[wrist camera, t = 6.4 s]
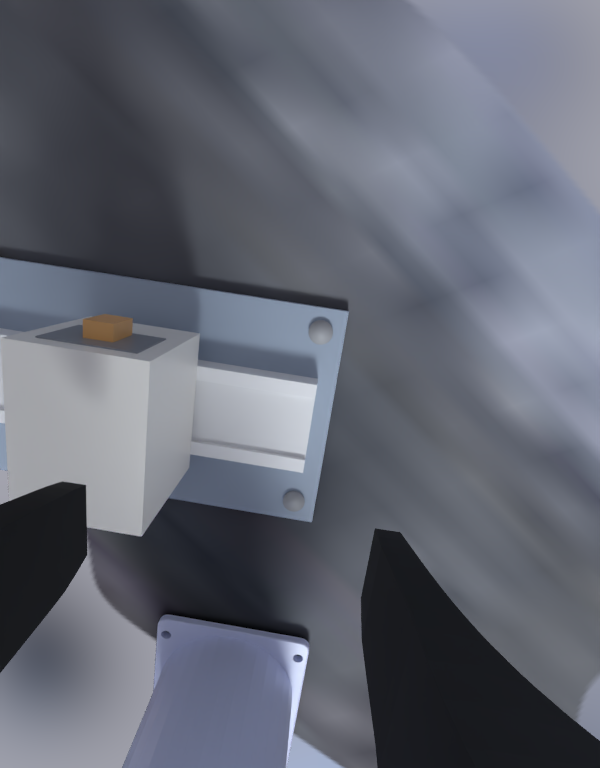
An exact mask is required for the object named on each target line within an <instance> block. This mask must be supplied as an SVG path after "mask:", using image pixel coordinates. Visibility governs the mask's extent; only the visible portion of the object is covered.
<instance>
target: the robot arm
mask: <svg viewBox="0 0 600 768" xmlns="http://www.w3.org/2000/svg"><path fill="white" fill-rule="evenodd" d="M86 556H87V515H86V485H83V484H76V483H70V482H63V481H62V482H59V483H55V484H52V485H49V486H46V487H44V488H41V489H38V490H36V491H33V492H31V493H28V494H26V495H23V496H21V497H18V498H16V499H13V500H11V501H8V502H6V503H4V504H1V505H0V672H1V671H2V670H3V669H4V667H5V666H6V665H7V664H8V662H9V661H10V660H11V659H12V658H13V656H14V655H15V654H16V652H17V651H18V650H19V649H20V648H21V646H22V645H23V644H24V643H25V641H26V640H27V639H28V638H29V636H30V635H31V634H32V633H33V631H34V630H35V629H36V628H37V626H38V625H39V624H40V623H41V621H42V620H43V619H44V618H45V616H46V615H47V614H48V612H49V611H50V610H51V609H52V607H53V606H54V605H55V604H56V602H57V601H58V600H59V598H60V597H61V596H62V594H63V593H64V592H65V590H66V589H67V587H68V586H69V584H70V582H71V581H72V579H73V578H74V576H75V575H76V573H77V571H78V569H79V568H80V566H81V564H82V563H83V561H84V559H85V558H86ZM361 624H362V645H363V653H364V661H365V669H366V676H367V684H368V692H369V699H370V707H371V714H372V722H373V729H374V737H375V744H376V754H377V765H378V768H600V741H599V740H598V739H596V738H595V737H594V736H593V735H591V734H590V733H589V732H587V731H586V730H585V729H584V728H583V727H581V726H580V725H579V724H578V723H577V722H575V721H574V720H573V719H572V718H570V717H569V716H568V715H567V714H566V713H564V712H563V711H562V710H561V709H560V708H559V707H557V706H556V705H555V704H554V703H553V702H552V701H551V700H549V699H548V698H547V697H546V696H545V695H544V694H542V693H541V692H540V691H539V690H538V689H537V688H535V687H534V686H533V685H532V684H531V683H530V682H529V681H528V680H527V679H526V678H525V677H523V676H522V675H521V674H520V673H519V672H518V671H517V670H516V669H515V668H514V667H513V666H512V665H511V664H510V663H509V662H508V661H507V660H506V659H505V658H504V657H503V656H502V655H501V654H500V653H499V652H498V651H497V650H496V649H495V648H494V647H493V646H492V645H491V644H490V643H489V642H488V641H487V640H486V639H485V638H484V637H483V636H482V635H481V634H480V633H479V632H478V631H477V629H476V628H475V627H474V626H473V625H472V624H471V623H470V622H469V620H468V619H467V618H466V617H465V616H464V615H463V614H462V612H461V611H460V610H459V609H458V608H457V607H456V605H455V604H454V603H453V602H452V601H451V599H450V598H449V597H448V596H447V595H446V593H445V592H444V591H443V590H442V588H441V587H440V586H439V584H438V583H437V582H436V581H435V579H434V578H433V577H432V575H431V574H430V573H429V571H428V570H427V569H426V567H425V566H424V565H423V563H422V562H421V560H420V559H419V558H418V556H417V555H416V554H415V552H414V551H413V549H412V548H411V547H410V545H409V544H408V542H407V541H406V540H405V538H404V537H403V536H402V534H401V533H400V532H394V531H387V530H381V529H375V531H374V536H373V541H372V546H371V551H370V556H369V561H368V566H367V571H366V576H365V581H364V586H363V591H362V596H361ZM166 631H168V632H169V633H168V632H166ZM308 654H309V643H308V641H307V640H305V639H303V638H299V637H294V636H288V635H282V634H277V633H271V632H266V631H260V630H254V629H249V628H243V627H237V626H232V625H226V624H220V623H215V622H209V621H203V620H198V619H192V618H186V617H181V616H175V615H163V616H162V617H161V618H160V620H159V622H158V627H157V643H156V658H155V674H154V690H153V694H152V696H151V699H150V701H149V704H148V706H147V709H146V711H145V714H144V716H143V718H142V721H141V723H140V725H139V728H138V730H137V733H136V735H135V737H134V740H133V742H132V745H131V747H130V750H129V752H128V754H127V757H126V759H125V762H124V764H123V766H122V768H287V764H288V758H289V753H290V748H291V743H292V737H293V732H294V727H295V722H296V717H297V711H298V706H299V701H300V696H301V691H302V685H303V680H304V675H305V670H306V665H307V659H308ZM297 655H301V656H297Z"/></svg>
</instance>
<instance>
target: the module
mask: <svg viewBox="0 0 600 768" xmlns="http://www.w3.org/2000/svg"><path fill="white" fill-rule="evenodd" d="M199 339H200V333H194V332H188V331H181V330H175V329H169V328H162V327H156V326H150V325H143V324H137V323H133V318H128V317H122V316H116V315H109V314H102V315H98V316H94V317H92V316H90V317H85V318H81V319H77V320H73V321H69V322H64V323H60V324H56V325H52V326H48V327H44V328H39V329H35V330H31V331H27V332H23V333H19V334H14V335H10V336H6V337H2V338H1V353H2V373H3V393H4V412H5V432H6V452H7V471H8V490H9V501H11V500H13V499H16V498H18V497H21V496H23V495H26V494H28V493H31V492H33V491H36V490H38V489H41V488H44V487H46V486H49V485H52V484H55V483H59V482H62V481H63V482H70V483H76V484H83V485H86V515H87V527H88V528H94V529H100V530H106V531H111V532H117V533H123V534H129V535H135V536H141V537H142V535H143V534H144V532H145V531H146V530H147V528H148V527H149V525H150V524H151V522H152V521H153V519H154V518H155V516H156V515H157V514H158V512H159V511H160V509H161V508H162V506H163V505H164V503H165V502H166V500H167V499H168V498H169V496H170V495H171V493H172V492H173V490H174V489H175V487H176V486H177V484H178V483H179V482H180V480H181V479H182V477H183V476H184V474H185V473H186V471H187V470H188V468H189V464H190V452H191V439H192V427H193V414H194V402H195V389H196V377H197V364H198V352H199Z"/></svg>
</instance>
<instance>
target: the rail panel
mask: <svg viewBox="0 0 600 768" xmlns="http://www.w3.org/2000/svg"><path fill="white" fill-rule="evenodd" d="M102 314H109V315H116V316H122V317H128V318H133V323H137V324H143V325H150V326H156V327H162V328H169V329H175V330H181V331H188V332H194V333H200V339H199V352H198V364H197V377H196V389H195V402H194V414H193V427H192V439H191V452H190V464H189V468H188V470H187V471H186V473H185V474H184V476H183V477H182V479H181V480H180V482H179V483H178V484H177V486H176V487H175V489H174V490H173V492H172V493H171V495H170V496H169V498H171V499H177V500H182V501H188V502H194V503H200V504H206V505H212V506H218V507H224V508H230V509H236V510H242V511H248V512H253V513H259V514H265V515H271V516H277V517H283V518H289V519H295V520H301V521H307V522H312V519H313V513H314V507H315V502H316V496H317V490H318V485H319V479H320V473H321V467H322V462H323V456H324V450H325V445H326V439H327V433H328V428H329V422H330V416H331V410H332V405H333V399H334V393H335V388H336V382H337V376H338V371H339V365H340V359H341V354H342V348H343V342H344V336H345V331H346V325H347V319H348V314H349V311H347V310H341V309H334V308H328V307H321V306H315V305H308V304H302V303H295V302H289V301H282V300H276V299H270V298H263V297H257V296H250V295H244V294H237V293H231V292H224V291H218V290H211V289H205V288H198V287H192V286H185V285H179V284H172V283H166V282H159V281H153V280H146V279H140V278H134V277H127V276H121V275H114V274H108V273H101V272H95V271H88V270H82V269H75V268H69V267H62V266H56V265H49V264H43V263H36V262H30V261H23V260H17V259H10V258H4V257H0V470H5V471H7V452H6V432H5V412H4V393H3V373H2V353H1V338H2V337H6V336H10V335H14V334H19V333H23V332H27V331H31V330H35V329H39V328H44V327H48V326H52V325H56V324H60V323H64V322H69V321H73V320H77V319H81V318H85V317H90V316H92V317H94V316H98V315H102Z"/></svg>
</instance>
